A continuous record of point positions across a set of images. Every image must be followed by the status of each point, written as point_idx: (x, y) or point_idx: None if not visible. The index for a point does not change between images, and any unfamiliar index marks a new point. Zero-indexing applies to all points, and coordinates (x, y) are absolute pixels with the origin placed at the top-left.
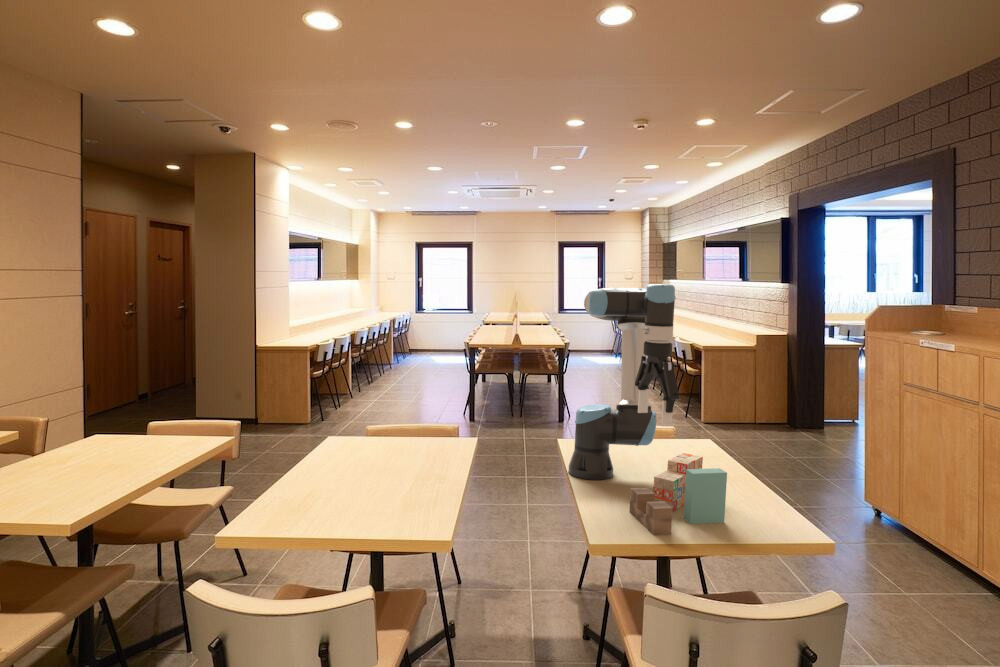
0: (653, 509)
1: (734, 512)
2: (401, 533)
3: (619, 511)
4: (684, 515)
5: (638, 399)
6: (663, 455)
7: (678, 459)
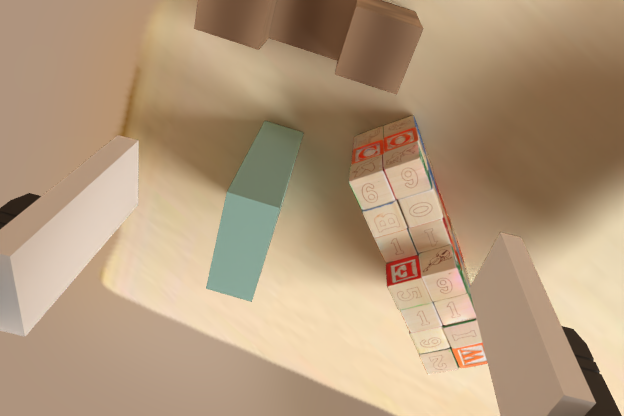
0: None
1: (286, 265)
2: None
3: None
4: (298, 135)
5: (553, 314)
6: None
7: (444, 301)
